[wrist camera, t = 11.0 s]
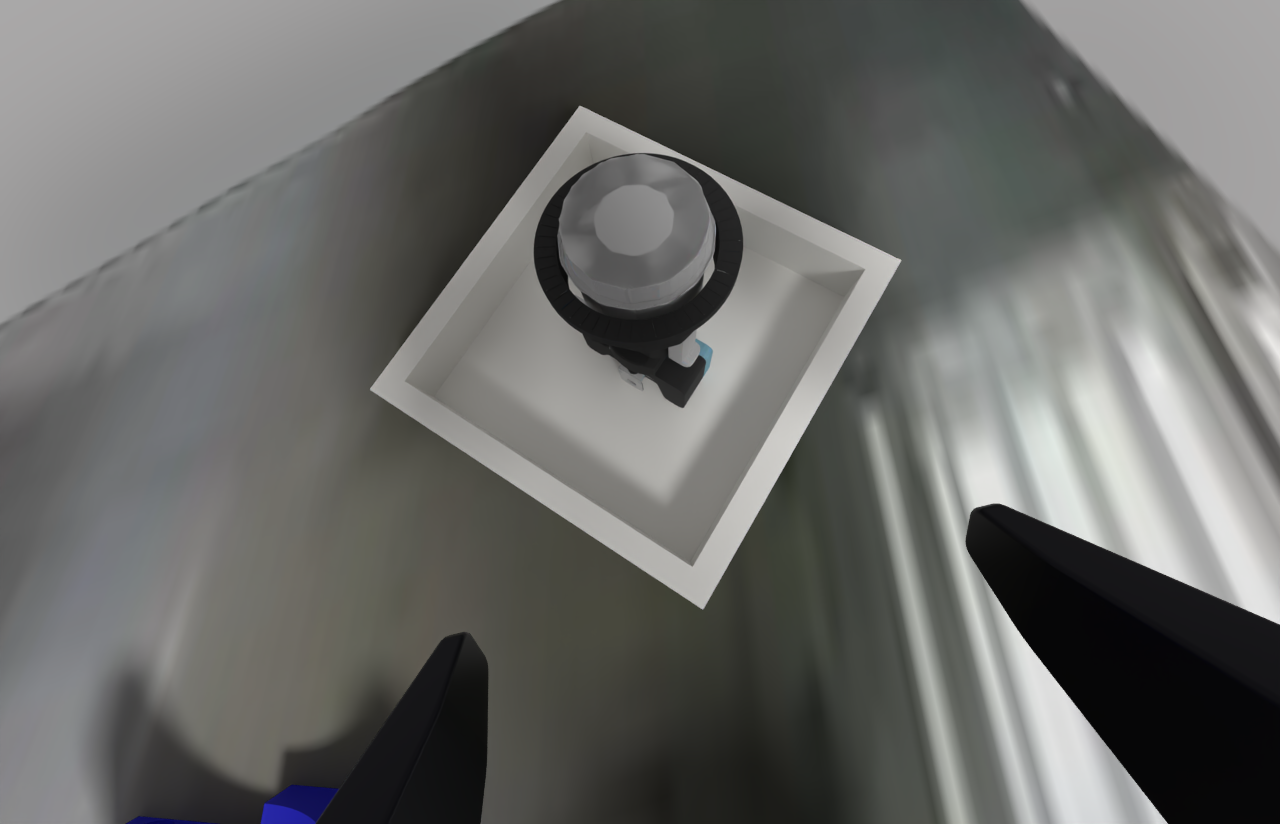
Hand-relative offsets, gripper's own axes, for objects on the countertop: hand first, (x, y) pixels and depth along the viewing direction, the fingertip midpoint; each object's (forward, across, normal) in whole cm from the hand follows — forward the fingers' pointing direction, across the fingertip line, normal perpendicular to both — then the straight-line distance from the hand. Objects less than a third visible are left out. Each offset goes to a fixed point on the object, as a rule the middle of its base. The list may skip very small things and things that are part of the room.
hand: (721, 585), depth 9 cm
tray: (+14, 0, +2) cm, 15 cm away
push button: (+14, 0, +2) cm, 14 cm away
